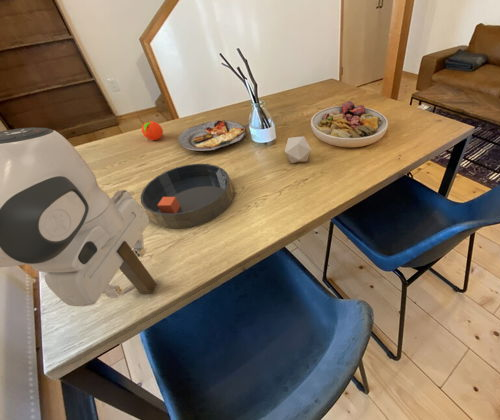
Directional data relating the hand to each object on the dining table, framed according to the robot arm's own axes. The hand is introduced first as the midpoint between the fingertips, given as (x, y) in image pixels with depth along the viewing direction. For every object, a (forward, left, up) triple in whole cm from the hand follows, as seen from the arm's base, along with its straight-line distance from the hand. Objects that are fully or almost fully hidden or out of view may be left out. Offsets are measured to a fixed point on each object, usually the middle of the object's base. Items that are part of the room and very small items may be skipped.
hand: (129, 273), depth 54 cm
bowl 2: (+82, -25, -7) cm, 86 cm away
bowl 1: (+28, +9, -6) cm, 30 cm away
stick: (+1, -1, -6) cm, 6 cm away
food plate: (+62, +24, -7) cm, 67 cm away
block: (+22, +11, -6) cm, 25 cm away
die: (+57, -13, -7) cm, 59 cm away
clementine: (+55, +46, -7) cm, 72 cm away
